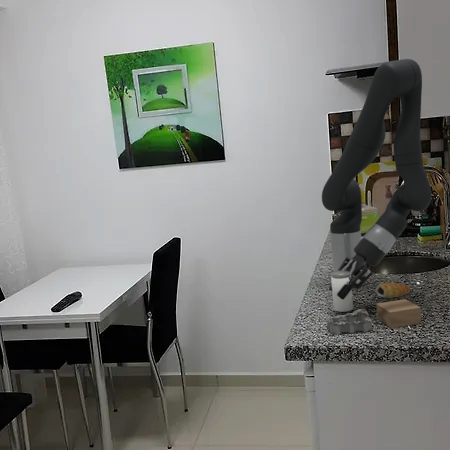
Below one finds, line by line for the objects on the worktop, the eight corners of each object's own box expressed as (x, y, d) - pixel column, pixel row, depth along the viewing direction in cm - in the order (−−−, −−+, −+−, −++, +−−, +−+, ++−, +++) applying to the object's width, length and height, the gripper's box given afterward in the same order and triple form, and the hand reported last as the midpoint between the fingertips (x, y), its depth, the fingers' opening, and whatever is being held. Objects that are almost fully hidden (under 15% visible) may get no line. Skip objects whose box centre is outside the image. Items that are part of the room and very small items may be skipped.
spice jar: (330, 307, 161) (327, 272, 159) (348, 304, 162) (345, 269, 160) (338, 312, 156) (335, 276, 154) (356, 309, 157) (353, 273, 155)
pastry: (402, 289, 175) (401, 277, 175) (415, 295, 169) (414, 282, 168) (374, 295, 173) (373, 282, 172) (386, 300, 167) (385, 287, 166)
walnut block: (377, 318, 152) (376, 303, 151) (406, 313, 153) (405, 299, 152) (391, 328, 144) (390, 312, 143) (421, 323, 145) (420, 307, 145)
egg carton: (368, 323, 150) (367, 307, 150) (373, 333, 143) (372, 317, 142) (326, 326, 151) (325, 310, 150) (329, 336, 144) (328, 320, 143)
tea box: (344, 240, 256) (342, 206, 253) (366, 237, 257) (364, 203, 255) (358, 245, 241) (356, 210, 239) (381, 242, 243) (379, 207, 240)
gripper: (354, 232, 164) (316, 280, 164) (376, 241, 150) (335, 293, 150) (373, 248, 165) (336, 295, 166) (397, 258, 152) (356, 310, 152)
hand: (335, 294), depth 158 cm, fingers closed on spice jar, 5 cm apart
